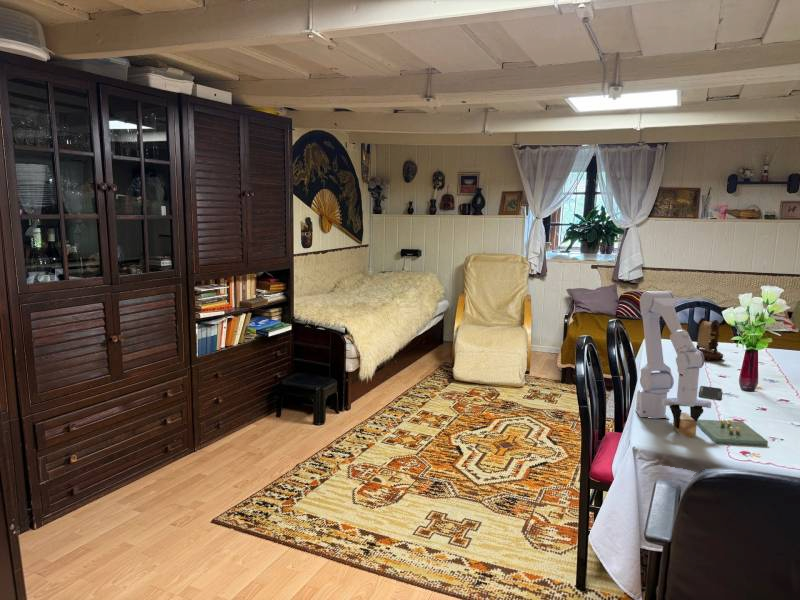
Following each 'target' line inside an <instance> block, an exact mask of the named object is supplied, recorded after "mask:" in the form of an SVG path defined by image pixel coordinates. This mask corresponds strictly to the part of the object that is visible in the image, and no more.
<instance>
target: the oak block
mask: <svg viewBox="0 0 800 600" xmlns="http://www.w3.org/2000/svg"><path fill="white" fill-rule="evenodd" d="M673 426H674V427H675V423H674V418H673V423H672V427H673ZM674 427H673V428H674ZM697 427H698V426H697V422H696V421H695V420H694V419H693V418H692V417H691V416H690V414H689V413H688V412H681V415H680V425H679V428H676V427H675V428H676V429H677V430H678V431H677V430H676V429H675V428H674V429H675V430H676V431H677V433H678V434H679V433H680V434H681V435H682V436H690V437H689V438H697V437H696V436H697ZM680 434H679V435H680ZM681 435H680V436H681ZM682 436H681V437H682Z"/></svg>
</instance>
